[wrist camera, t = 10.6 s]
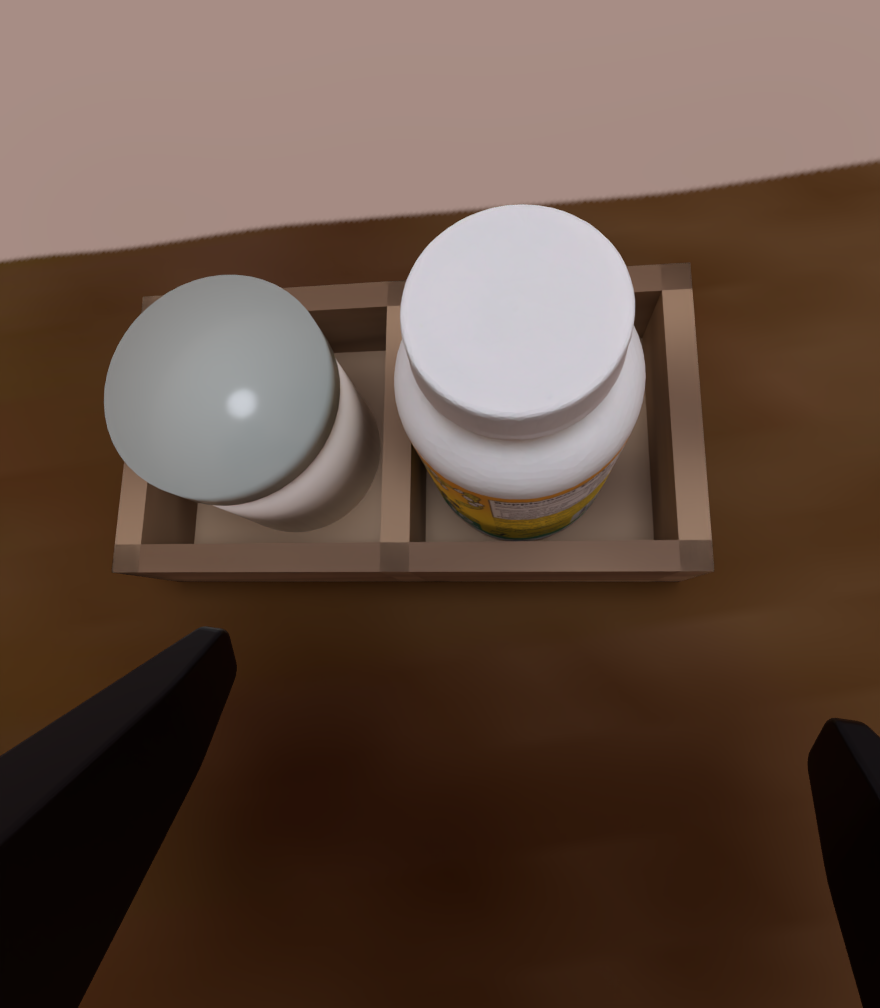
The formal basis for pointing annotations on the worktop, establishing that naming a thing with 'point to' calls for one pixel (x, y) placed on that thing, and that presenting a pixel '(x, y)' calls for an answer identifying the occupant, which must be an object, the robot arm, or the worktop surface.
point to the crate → (418, 502)
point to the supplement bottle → (519, 367)
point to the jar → (241, 406)
